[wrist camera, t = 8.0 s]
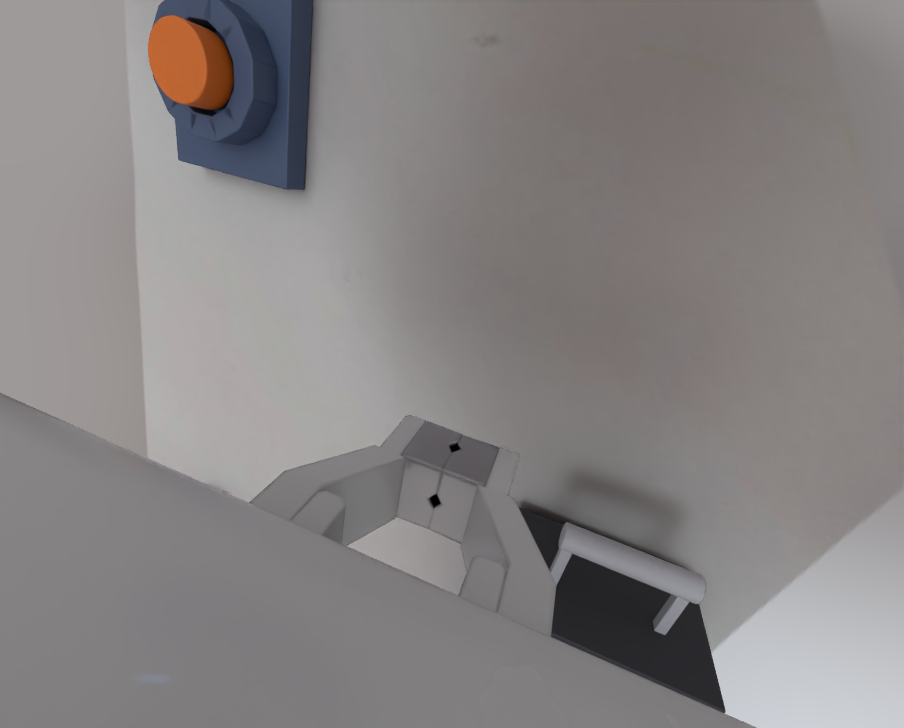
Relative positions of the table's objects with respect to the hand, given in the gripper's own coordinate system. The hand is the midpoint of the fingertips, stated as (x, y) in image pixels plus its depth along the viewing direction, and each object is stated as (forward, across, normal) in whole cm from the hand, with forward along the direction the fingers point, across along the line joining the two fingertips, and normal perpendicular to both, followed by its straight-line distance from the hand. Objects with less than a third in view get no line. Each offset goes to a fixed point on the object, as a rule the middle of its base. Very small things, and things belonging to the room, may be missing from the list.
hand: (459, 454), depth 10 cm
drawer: (+14, -8, +18) cm, 24 cm away
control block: (+15, +20, -8) cm, 26 cm away
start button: (+12, +20, -8) cm, 25 cm away
